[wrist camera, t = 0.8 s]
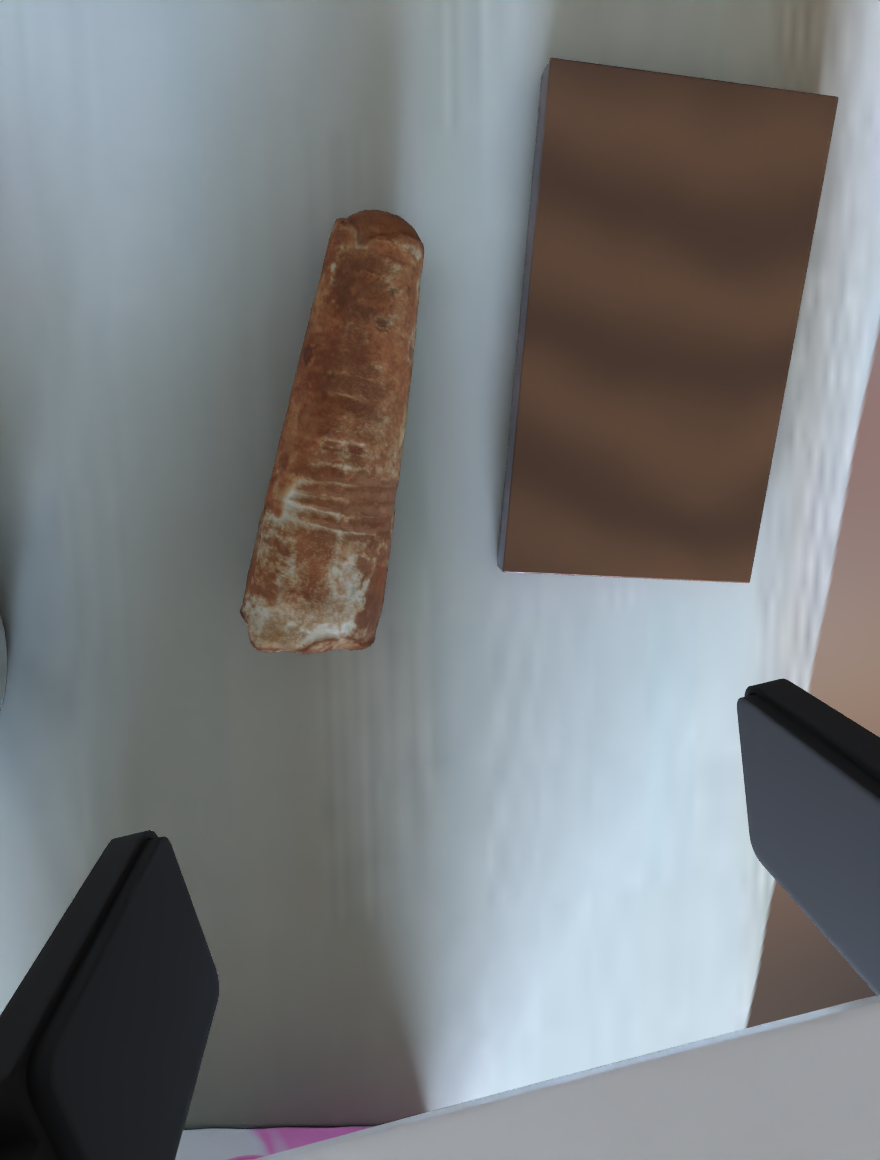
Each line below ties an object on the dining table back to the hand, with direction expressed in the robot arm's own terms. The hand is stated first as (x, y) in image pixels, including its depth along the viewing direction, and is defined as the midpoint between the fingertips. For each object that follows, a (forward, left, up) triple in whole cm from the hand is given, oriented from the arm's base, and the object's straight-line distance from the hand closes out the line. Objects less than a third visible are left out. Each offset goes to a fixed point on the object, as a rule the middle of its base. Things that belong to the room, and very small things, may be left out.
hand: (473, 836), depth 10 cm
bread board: (-10, +11, -23) cm, 28 cm away
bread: (-5, -4, -24) cm, 25 cm away
